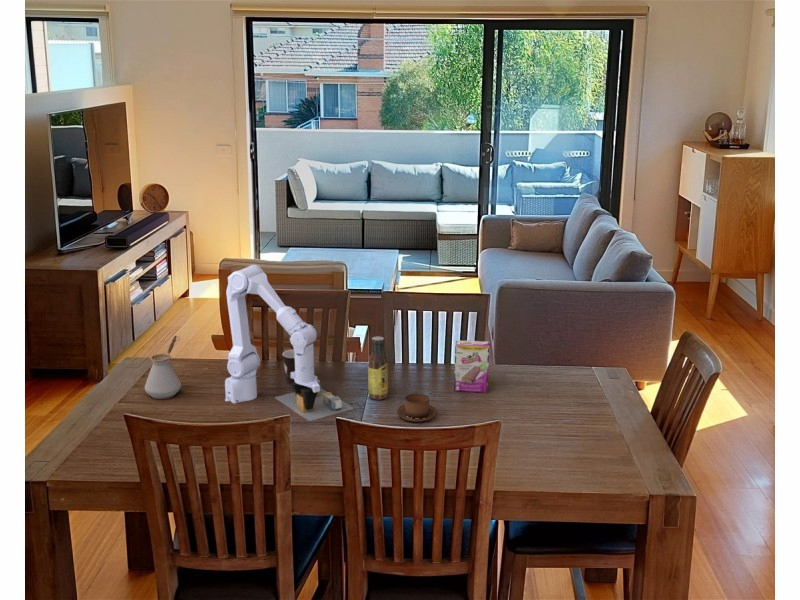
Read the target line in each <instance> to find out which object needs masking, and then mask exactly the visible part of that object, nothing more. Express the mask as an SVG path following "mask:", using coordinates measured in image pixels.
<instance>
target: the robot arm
mask: <svg viewBox="0 0 800 600" xmlns="http://www.w3.org/2000/svg"><path fill="white" fill-rule="evenodd" d="M227 283H228V284H227V287H226V291H225V292H226V293H225V294H226V300H227V301H226V303H227V311H228V316H229V324H230V325H229V326H230V334H231V340H232V347H231V350H230V351H229V353H228V355H227V357H228V360H227V366H226V368H227V371H228V373H229V374H230V376H229V377H227V378H226V379H225V380H224V392H225V398H224V401H225V402H230V403H233V404H238V403H242V402H248V401H252V400H255V399H256V398H258V397H257V396H258V391H257V389H258V388H257V372H258V371H257V370H258V368H259V367H260V365H261V358H260V356H259V354H258V352H257V348H256V346H255V345H254V344H252V343H251V335H250V328H249V327H250V326H249V319H248V318H249V317H248V311H247V302H246V296H247V294H248V295H249V294H251V295H258V296H259V297H260V298H262V299H263V301H264V302H265V303H266V304H267V305H268V306H269V307H270V308H271V310H273V311H274V313H275V314H276V318H275V319H276V320H277V322H278V323H279V324H280V325H281V327H282V328H283V329H284V330H285V331H286V333H287V334H288V335H289V336H290V337H289V342H290V344H291V346H292V347H293V349H294V352H295V371H294V372H290V373H291V378H292V379H294V381H295V382H293V383H291V385H290V386H291V387H292V389H293V391H294V392H295V394H297V393H301V392H302V394H303V397H304V401H305V407H306V410H310V409H313V406H314V402H315V398H316V396H317V394H318V392H319V391H320V386H321V384H320V385H319V384H318V383H317V381H316V379H317V380H318V376H317V375H315V359H314V355H315V354H314V351H315V350H314V342H315V341H316V339H317V336H318V335H317V334H318V333H317V331H316V328H314V326H313V325H312V324H309V323H307V322H305V321H303V319H302V318H301V317H300V315H298V313H297V310H295V308H293V307H292V306H287V305H285V304H284V302H283V300H282V299H281V298H280V296H279V295H278V294H277V292H276V291H275V289H274V288H273V287H272V286H271V284H270V282H269V281H268V276H267V274H266V273H265V272H264V271H263V268H261V267H260V266H259V265H257V264H251V265H249V266H246V267H245V268H242V269H240V270H235V271H233V272H232V273H231V274H230V275H228V277H227ZM296 397H297V396H296Z"/></svg>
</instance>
